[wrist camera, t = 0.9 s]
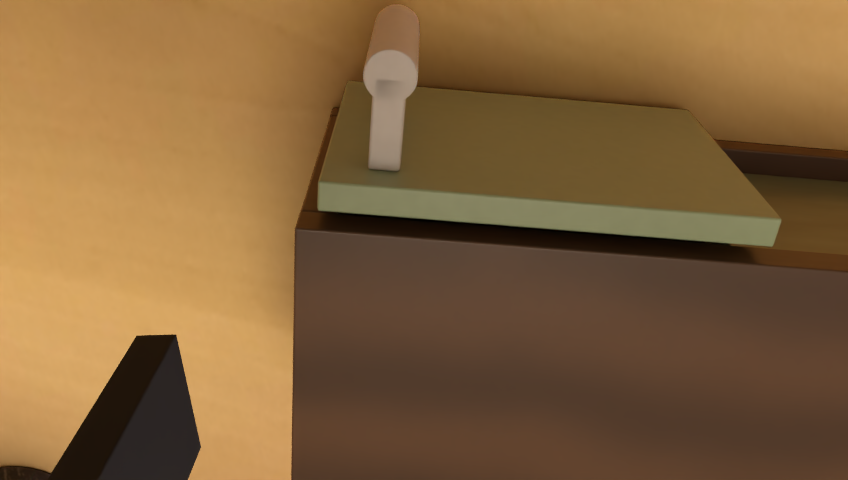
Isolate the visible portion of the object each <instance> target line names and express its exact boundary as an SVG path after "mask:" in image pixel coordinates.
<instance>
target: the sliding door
mask: <svg viewBox="0 0 848 480" xmlns="http://www.w3.org/2000/svg"><path fill="white" fill-rule="evenodd" d="M419 34H420V24H419V20H418V17H417V16H416V14H415V13H414V12H413V11H412V10H411V9H410V8H408V7H407V6H404V5H400V4H393V5H389V6H387V7H385V8H384V9H382V10H381V11H380V13H379V14H378V15H377V17H376V20H375V24H374V28H373V33H372V37H371V41H370V45H369V49H368V53H367V58H366V62H365V66H364V70H363V81H364V82H358V81H348V82H347V84H346V87H345V91H344V94H343V98H342V101H341V105H340V108H339V112H338V115H337V119H336V122H335V126H334V129H333V132H332V136H331V139H330V143H329V146H328V150H327V153H326V157H325V160H324V164H323V167H322V171H321V174H320V177H319V181H318V198H317V208H318V210H319V211H329V212H342V213H354V214H367V215H379V216H392V217H404V218H417V219H429V220H442V221H454V222H467V223H479V224H492V225H504V226H517V227H529V228H542V229H554V230H567V231H579V232H592V233H604V234H617V235H629V236H642V237H654V238H667V239H679V240H692V241H704V242H717V243H729V244H742V245H754V246H767V247H772V246H773V245H774V242H775V239H776V236H777V233H778V230H779V227H780V224H781V218H780V217H779V216H778V214H777V213H776V212H775V211H774V210H773V208H772V207H771V206H770V205H769V204H768V203H767V201H766V200H765V199H764V198H763V197H762V196H761V194H760V193H759V192H758V191H757V190H756V189H755V187H754V186H753V185H752V184H751V183H750V182H749V180H748V179H747V178H746V177H745V176H744V175H743V173H742V172H741V171H740V170H739V169H738V167H737V166H736V165H735V164H734V163H733V162H732V160H731V159H730V158H729V157H728V156H727V155H726V153H725V152H724V151H723V150H722V149H721V148H720V146H719V145H718V144H717V143H716V142H715V141H714V139H713V138H712V137H711V136H710V135H709V134H708V132H707V131H706V130H705V129H704V128H703V126H702V125H701V124H700V123H699V122H698V121H697V119H696V118H695V117H694V116H693V115H692V114H691V112H690V111H689V110H683V109H671V108H659V107H648V106H636V105H625V104H613V103H601V102H590V101H578V100H567V99H555V98H543V97H532V96H520V95H508V94H497V93H485V92H474V91H462V90H450V89H439V88H427V87H416V85H417V82H418V63H419Z"/></svg>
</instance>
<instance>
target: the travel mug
mask: <svg viewBox="0 0 848 480" xmlns="http://www.w3.org/2000/svg"><path fill="white" fill-rule="evenodd" d="M50 475H51V474H48V473H46V472H43V471H39V470H36V469H31V468H26V467H0V480H48V478H49V476H50Z"/></svg>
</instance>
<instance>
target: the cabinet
mask: <svg viewBox="0 0 848 480" xmlns="http://www.w3.org/2000/svg"><path fill="white" fill-rule="evenodd" d="M338 112H339V108H333V109H332V112H331V115H330V119H329V122H328V125H327V128H326V132H325V135H324V138H323V141H322V145H321V148H320V151H319V154H318V157H317V161H316V164H315V167H314V170H313V174H312V177H311V180H310V183H309V186H308V190H307V193H306V196H305V199H304V202H303V206H302V209H301V212H300V215H299V218H298V221H297V224H296V227H295V262H294V331H293V401H292V471H291V480H848V151H838V150H827V149H815V148H803V147H791V146H779V145H768V144H756V143H744V142H732V141H720V140H714V141H715V142H716V143H717V144H718V145H719V146H720V148H721V149H722V150H723V151H724V152H725V153H726V155H727V156H728V157H729V158H730V159H731V160H732V162H733V163H734V164H735V165H736V166H737V167H738V169H739V170H740V171H741V172H742V173H743V175H744V176H745V177H746V178H747V179H748V180H749V182H750V183H751V184H752V185H753V186H754V187H755V189H756V190H757V191H758V192H759V193H760V194H761V196H762V197H763V198H764V199H765V200H766V201H767V203H768V204H769V205H770V206H771V207H772V208H773V210H774V211H775V212H776V213H777V214H778V216H779V217H780V218H781V224H780V227H779V230H778V233H777V236H776V239H775V242H774V245H773V246H772V247H767V246H754V245H742V244H729V243H717V242H704V241H692V240H679V239H667V238H654V237H642V236H629V235H617V234H604V233H592V232H579V231H567V230H554V229H542V228H529V227H517V226H504V225H492V224H479V223H467V222H454V221H442V220H429V219H417V218H404V217H392V216H379V215H367V214H354V213H342V212H329V211H319V210H318V208H317V198H318V181H319V177H320V174H321V171H322V167H323V164H324V160H325V157H326V153H327V150H328V146H329V143H330V139H331V136H332V132H333V129H334V126H335V122H336V119H337V115H338Z"/></svg>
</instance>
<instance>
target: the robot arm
mask: <svg viewBox="0 0 848 480" xmlns="http://www.w3.org/2000/svg"><path fill="white" fill-rule="evenodd" d="M200 448H201V445H200V441H199V436H198V432H197V427H196V423H195V418H194V414H193V409H192V405H191V400H190V395H189V391H188V386H187V382H186V377H185V373H184V368H183V364H182V359H181V355H180V350H179V346H178V341H177V337H176V335H145V336H136V338H135V339H134V341H133V343H132V344H131V346H130V348H129V349H128V351H127V352H126V354H125V356H124V357H123V359H122V360H121V362H120V364H119V365H118V367H117V368H116V370H115V372H114V373H113V375H112V377H111V378H110V380H109V381H108V383H107V385H106V386H105V388H104V389H103V391H102V393H101V394H100V396H99V397H98V399H97V401H96V402H95V404H94V406H93V407H92V409H91V410H90V412H89V414H88V415H87V417H86V418H85V420H84V422H83V423H82V425H81V426H80V428H79V430H78V431H77V433H76V434H75V436H74V438H73V439H72V441H71V443H70V444H69V446H68V447H67V449H66V451H65V452H64V454H63V455H62V457H61V459H60V460H59V462H58V463H57V465H56V467H55V468H54V470H53V472H52V473H51V475H50V476H49V478H48V480H188V478H189V475H190V473H191V470H192V468H193V465H194V463H195V460H196V458H197V455H198V453H199V450H200Z"/></svg>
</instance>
